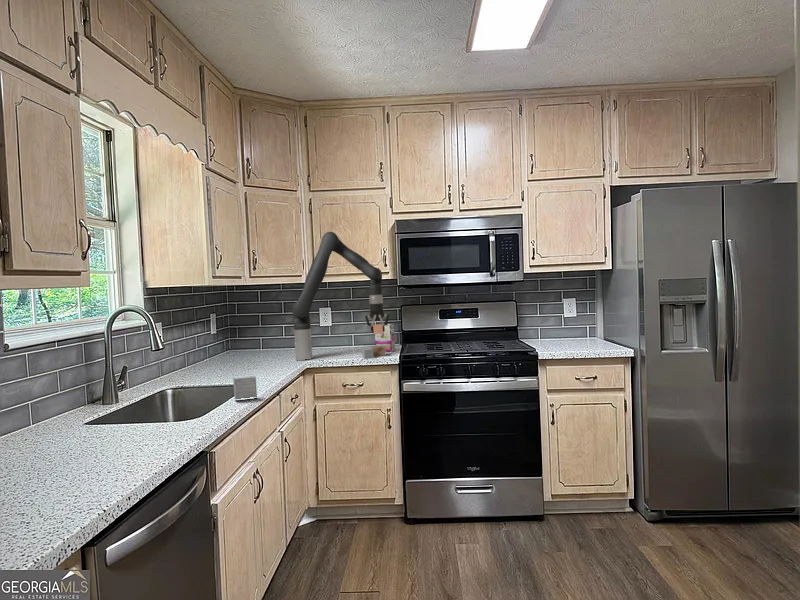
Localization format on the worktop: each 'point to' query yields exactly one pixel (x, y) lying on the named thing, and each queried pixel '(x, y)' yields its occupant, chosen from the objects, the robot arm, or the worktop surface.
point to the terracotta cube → (378, 329)
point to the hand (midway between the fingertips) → (377, 332)
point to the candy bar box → (386, 338)
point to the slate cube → (367, 353)
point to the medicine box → (245, 387)
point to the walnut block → (379, 351)
